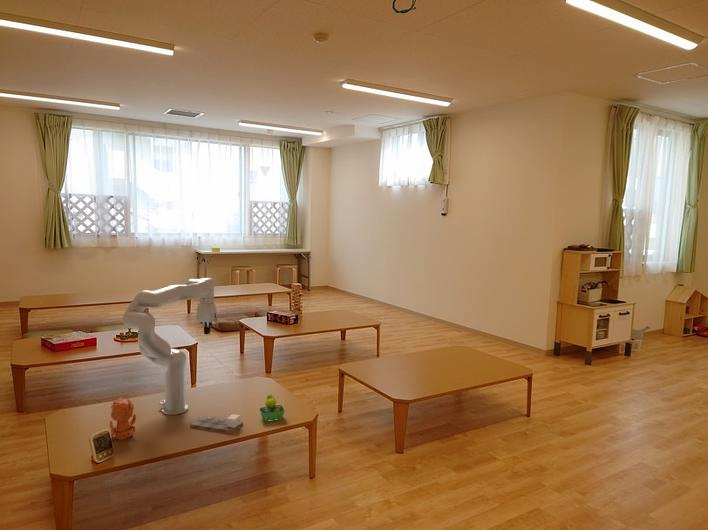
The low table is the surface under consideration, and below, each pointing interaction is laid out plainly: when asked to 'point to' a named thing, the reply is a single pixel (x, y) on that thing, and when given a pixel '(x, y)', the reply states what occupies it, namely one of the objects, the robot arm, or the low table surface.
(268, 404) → the fruit basket
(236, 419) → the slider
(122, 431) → the orange figurine
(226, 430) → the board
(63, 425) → the low table surface
